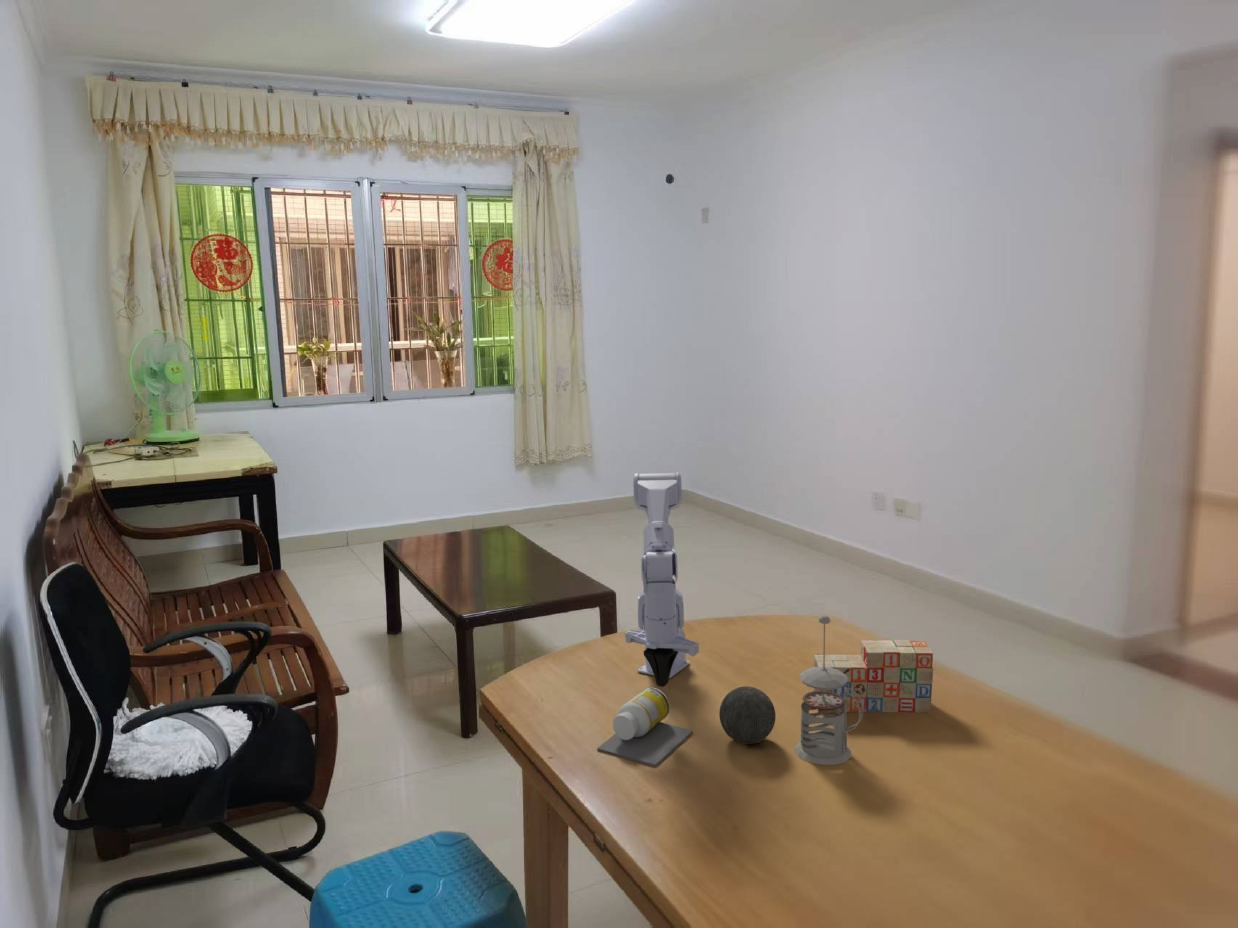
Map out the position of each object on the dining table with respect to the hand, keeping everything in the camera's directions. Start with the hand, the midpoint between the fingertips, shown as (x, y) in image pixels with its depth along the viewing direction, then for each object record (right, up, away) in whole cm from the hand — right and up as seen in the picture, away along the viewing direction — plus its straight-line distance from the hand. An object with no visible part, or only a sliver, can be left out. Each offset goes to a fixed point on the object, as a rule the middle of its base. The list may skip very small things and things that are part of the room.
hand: (662, 684), depth 166 cm
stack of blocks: (+41, -6, +7) cm, 42 cm away
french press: (+29, -10, -10) cm, 32 cm away
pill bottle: (-1, -4, +4) cm, 6 cm away
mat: (-3, -9, -4) cm, 11 cm away
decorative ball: (+15, -9, -5) cm, 18 cm away
